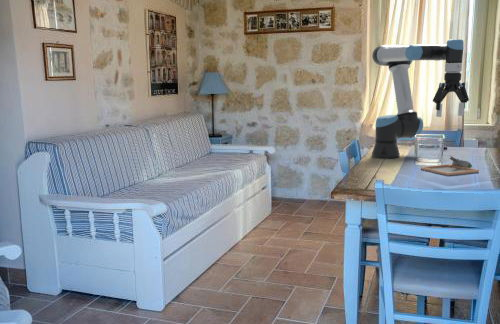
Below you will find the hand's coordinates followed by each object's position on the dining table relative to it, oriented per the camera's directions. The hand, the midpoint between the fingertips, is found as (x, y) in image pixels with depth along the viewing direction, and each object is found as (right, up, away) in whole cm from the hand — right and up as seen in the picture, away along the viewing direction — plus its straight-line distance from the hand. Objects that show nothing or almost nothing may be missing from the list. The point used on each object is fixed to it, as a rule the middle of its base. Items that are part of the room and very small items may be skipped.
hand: (449, 116), depth 236 cm
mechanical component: (-2, -20, -5) cm, 21 cm away
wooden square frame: (-4, -27, -8) cm, 28 cm away
